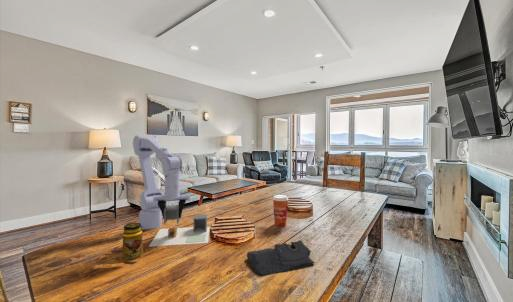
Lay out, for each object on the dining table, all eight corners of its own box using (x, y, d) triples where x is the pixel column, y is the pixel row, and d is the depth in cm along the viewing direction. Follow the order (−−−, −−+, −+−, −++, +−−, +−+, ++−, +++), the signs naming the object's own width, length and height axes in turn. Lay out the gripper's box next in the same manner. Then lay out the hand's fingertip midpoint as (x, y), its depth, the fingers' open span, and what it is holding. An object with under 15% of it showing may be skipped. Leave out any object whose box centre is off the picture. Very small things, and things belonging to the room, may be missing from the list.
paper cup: (270, 226, 113) (270, 197, 112) (275, 221, 120) (275, 194, 120) (286, 228, 110) (286, 198, 110) (290, 223, 117) (290, 195, 117)
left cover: (164, 224, 95) (163, 209, 95) (166, 219, 100) (166, 205, 100) (178, 223, 96) (178, 208, 96) (180, 218, 101) (180, 205, 101)
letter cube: (168, 237, 97) (168, 230, 96) (169, 234, 100) (169, 227, 100) (175, 237, 97) (175, 230, 97) (176, 234, 100) (176, 227, 100)
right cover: (193, 232, 102) (193, 218, 102) (194, 227, 108) (194, 214, 108) (206, 231, 103) (206, 218, 103) (207, 227, 109) (207, 214, 108)
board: (148, 249, 88) (148, 246, 88) (160, 231, 106) (160, 228, 106) (208, 245, 92) (208, 242, 92) (209, 228, 110) (209, 226, 110)
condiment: (132, 265, 77) (132, 229, 77) (112, 261, 80) (112, 226, 79) (149, 254, 84) (148, 221, 84) (130, 251, 87) (129, 219, 86)
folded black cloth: (242, 256, 84) (242, 243, 84) (296, 246, 92) (296, 234, 92) (257, 279, 70) (257, 264, 70) (319, 266, 78) (319, 252, 77)
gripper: (150, 187, 92) (151, 221, 93) (188, 187, 95) (189, 220, 95) (155, 184, 99) (156, 216, 100) (190, 183, 102) (191, 214, 102)
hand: (172, 217), depth 98 cm, fingers closed on left cover, 5 cm apart
